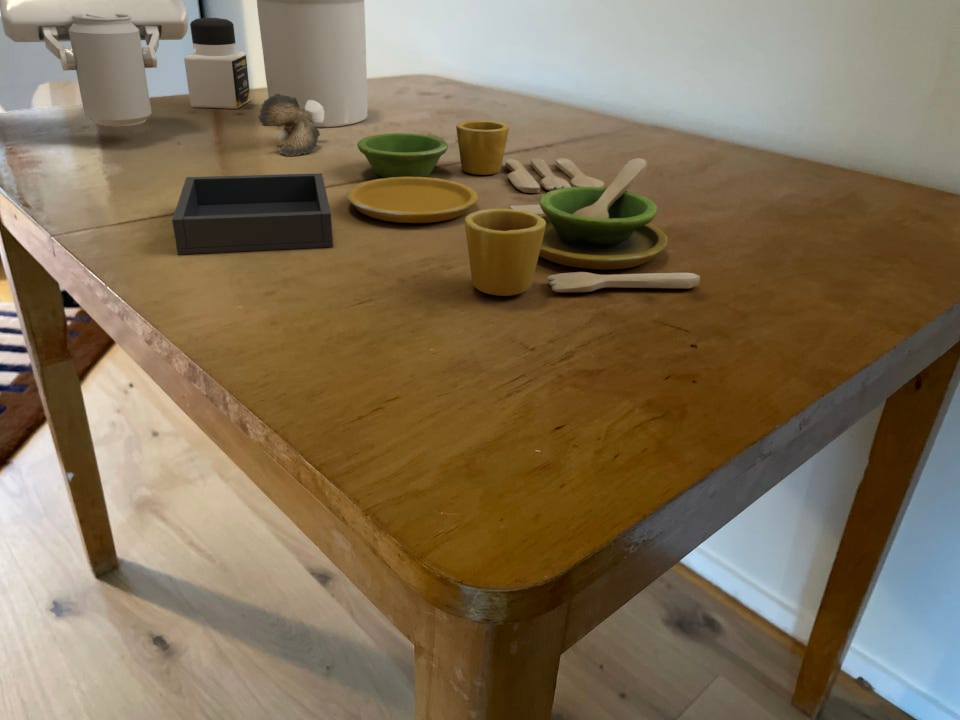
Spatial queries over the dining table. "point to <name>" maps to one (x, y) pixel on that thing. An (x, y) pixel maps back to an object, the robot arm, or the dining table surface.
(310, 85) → the utensil holder
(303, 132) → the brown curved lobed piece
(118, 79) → the can
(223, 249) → the dark grey tray
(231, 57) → the medicine bottle
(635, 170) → the tableware set
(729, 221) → the dining table surface
